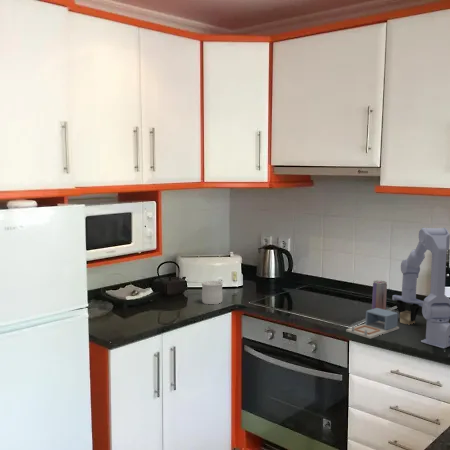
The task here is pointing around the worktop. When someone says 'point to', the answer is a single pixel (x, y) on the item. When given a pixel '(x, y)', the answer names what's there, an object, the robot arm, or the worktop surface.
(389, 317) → the housing
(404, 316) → the birch block
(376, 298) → the beverage can
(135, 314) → the worktop surface
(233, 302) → the worktop surface
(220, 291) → the cup
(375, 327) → the base plate
